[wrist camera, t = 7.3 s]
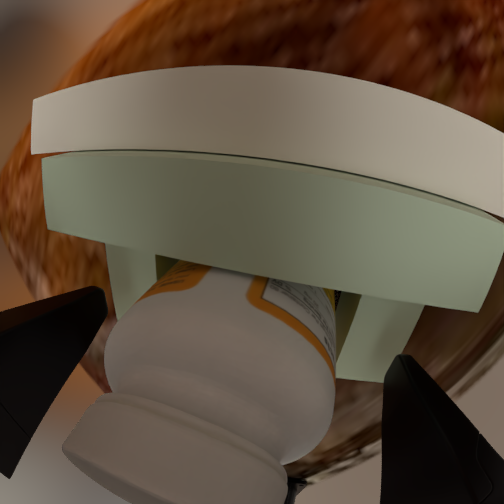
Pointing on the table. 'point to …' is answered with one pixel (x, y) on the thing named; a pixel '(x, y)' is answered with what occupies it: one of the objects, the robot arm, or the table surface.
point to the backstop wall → (282, 125)
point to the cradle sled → (281, 236)
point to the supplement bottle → (211, 389)
